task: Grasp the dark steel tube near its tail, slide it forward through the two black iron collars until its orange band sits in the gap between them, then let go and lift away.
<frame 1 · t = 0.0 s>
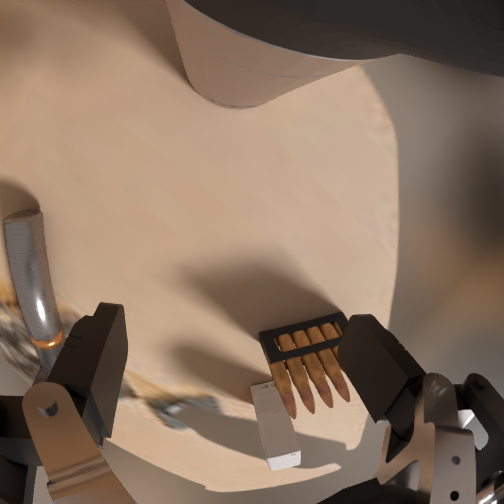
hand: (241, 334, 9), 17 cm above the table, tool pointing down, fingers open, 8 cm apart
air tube: (46, 294, 25), on the table
ammunition clip: (301, 326, 33), on the table
skincare box: (265, 392, 37), on the table
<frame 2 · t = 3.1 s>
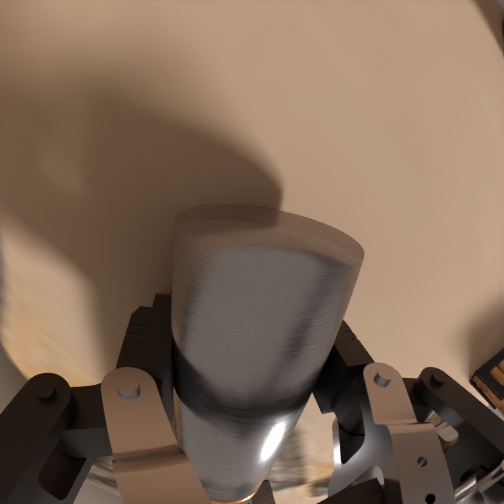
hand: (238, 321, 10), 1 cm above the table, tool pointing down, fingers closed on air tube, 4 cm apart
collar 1: (210, 486, 17), on the table
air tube: (222, 406, 12), on the table, touching gripper
ammunition clip: (496, 356, 20), on the table
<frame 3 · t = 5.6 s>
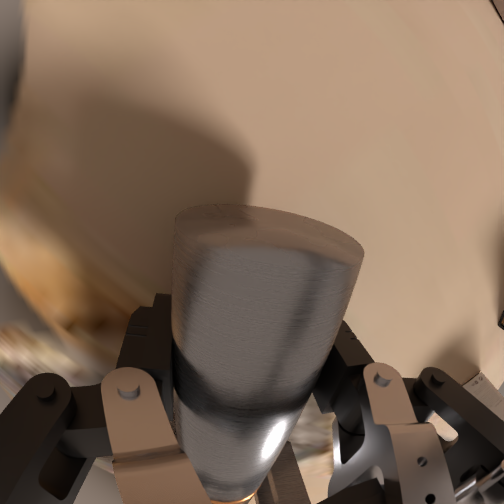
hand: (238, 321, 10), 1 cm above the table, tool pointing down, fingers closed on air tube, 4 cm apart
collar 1: (218, 450, 16), on the table
collar 2: (214, 476, 18), on the table
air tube: (222, 406, 12), point 1 cm above the table, touching gripper
skincare box: (461, 392, 23), on the table
when the fingers open (1 cm above the table, at t = 7.9 s): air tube stays where it is, on the table.
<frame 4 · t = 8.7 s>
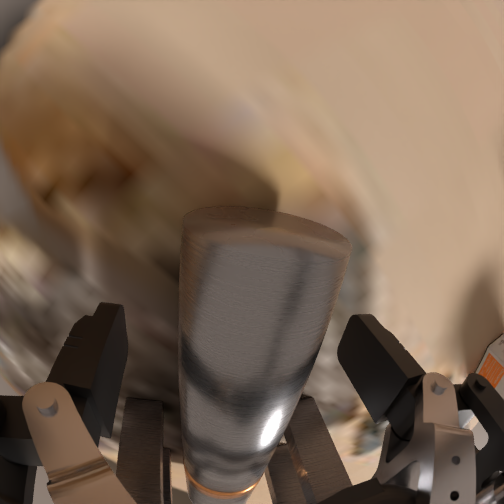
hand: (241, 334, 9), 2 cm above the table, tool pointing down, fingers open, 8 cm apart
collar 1: (222, 409, 13), on the table
collar 2: (216, 453, 16), on the table
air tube: (224, 398, 13), on the table
skincare box: (486, 356, 20), on the table
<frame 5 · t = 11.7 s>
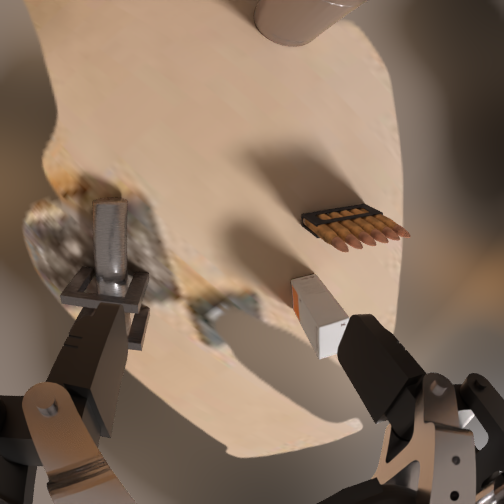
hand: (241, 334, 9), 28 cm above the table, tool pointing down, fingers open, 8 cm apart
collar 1: (114, 273, 36), on the table
collar 2: (117, 307, 38), on the table
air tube: (114, 266, 36), on the table, tilted 6°
ammunition clip: (334, 214, 39), on the table
skincare box: (303, 291, 43), on the table
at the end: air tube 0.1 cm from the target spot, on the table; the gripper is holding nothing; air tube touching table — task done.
